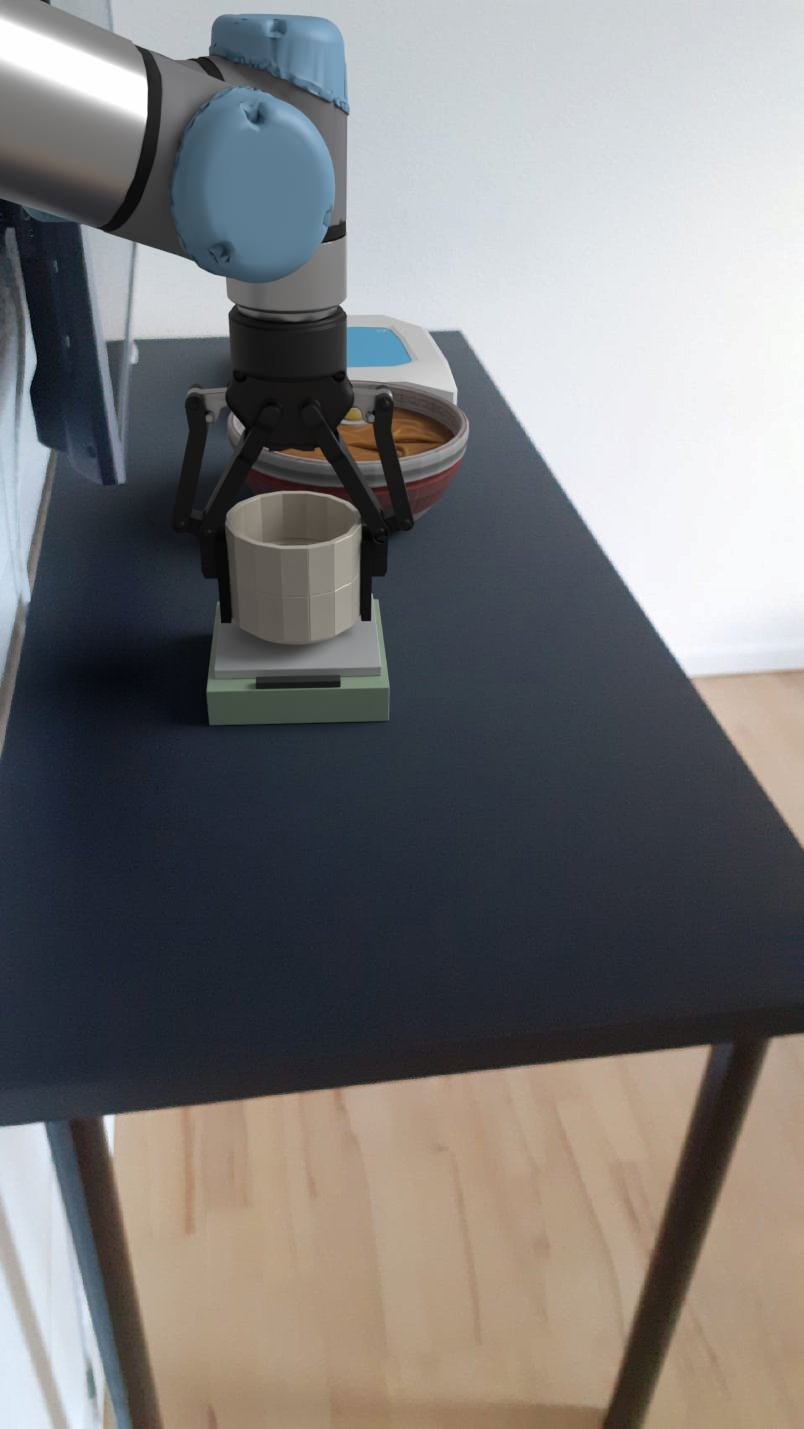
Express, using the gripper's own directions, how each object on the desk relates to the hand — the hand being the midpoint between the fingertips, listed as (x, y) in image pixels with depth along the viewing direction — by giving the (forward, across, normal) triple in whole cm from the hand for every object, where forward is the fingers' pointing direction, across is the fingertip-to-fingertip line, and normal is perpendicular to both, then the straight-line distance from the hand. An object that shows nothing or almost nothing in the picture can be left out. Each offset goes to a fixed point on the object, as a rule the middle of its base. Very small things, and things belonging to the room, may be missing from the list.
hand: (296, 613), depth 81 cm
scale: (+5, 0, 0) cm, 5 cm away
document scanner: (+5, -7, -64) cm, 65 cm away
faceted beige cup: (0, 0, 0) cm, 0 cm away
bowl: (+5, -5, -28) cm, 29 cm away
